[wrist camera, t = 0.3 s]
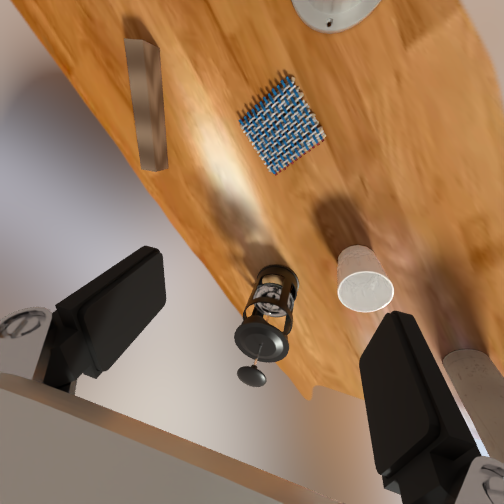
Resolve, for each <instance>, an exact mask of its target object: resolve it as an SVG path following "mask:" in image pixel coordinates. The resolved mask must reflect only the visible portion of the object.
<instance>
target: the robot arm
mask: <svg viewBox="0 0 504 504" xmlns="http://www.w3.org/2000/svg"><path fill="white" fill-rule="evenodd" d="M380 2H381V0H292V4H293V7H294V9H295V10H296V12H297V14H298V16H299V17H300V19H301V20H302V21H303V22H304V23H305V24H306V25H307V26H309V27H310V28H311V29H313V30H315V31H318V32H320V33H328V34H331V33H339V32H342V31H345V30H348V29H350V28H352V27H354V26H355V25H357V24H359V23H360V22H361V21H362V20H364V19H365V18H366V17H367V16H368V15H370V13H371V12H372V11H373V10H374V9H375V8H376V7H377V6H378V4H379V3H380ZM328 23H331V26H330V27H327V24H328ZM165 303H166V290H165V278H164V268H163V256H162V254H161V253H160V251H159V250H158V249H157V248H153V247H149V246H143V247H141V248H140V249H138V250H137V251H135V252H134V253H132V254H131V255H130V256H128V257H126V258H125V259H123V260H122V261H120V262H119V263H117V264H116V265H114V266H113V267H111V268H110V269H109V270H107V271H106V272H104V273H103V274H101V275H100V276H98V277H97V278H95V279H94V280H92V281H91V282H89V283H88V284H86V285H85V286H83V287H82V288H80V289H79V290H77V291H76V292H74V293H73V294H71V295H70V296H68V297H67V298H65V299H64V300H62V301H61V302H60V303H58V304H56V305H55V306H56V309H57V310H56V311H55V312H53V313H52V312H51V311H50V310H49V309H46V308H43V307H31V308H26V309H22V310H19V311H16V312H13V313H11V314H9V315H7V316H5V317H4V318H2V319H1V320H0V504H344V503H342V502H339V501H336V500H334V499H332V498H329V497H327V496H325V495H322V494H319V493H317V492H315V491H312V490H310V489H307V488H305V487H302V486H300V485H297V484H295V483H293V482H290V481H288V480H285V479H283V478H280V477H278V476H275V475H273V474H270V473H268V472H266V471H263V470H261V469H258V468H256V467H253V466H251V465H248V464H246V463H243V462H241V461H238V460H236V459H233V458H231V457H228V456H226V455H223V454H221V453H218V452H216V451H213V450H211V449H208V448H206V447H203V446H201V445H198V444H196V443H193V442H191V441H188V440H186V439H183V438H181V437H178V436H176V435H173V434H171V433H168V432H166V431H163V430H161V429H158V428H156V427H153V426H151V425H148V424H146V423H143V422H141V421H138V420H136V419H133V418H131V417H128V416H126V415H123V414H120V413H118V412H115V411H113V410H110V409H108V408H105V407H103V406H100V405H98V404H95V403H93V402H90V401H88V400H85V399H82V398H80V397H77V396H75V390H76V384H77V378H78V377H79V376H80V375H81V374H82V373H84V374H85V375H87V376H90V377H92V378H95V379H97V377H98V376H99V375H100V374H101V373H102V372H103V371H107V370H108V369H109V368H110V367H111V366H112V365H113V364H114V363H115V362H116V360H117V359H118V358H119V357H120V356H121V355H122V354H123V352H124V351H125V350H126V349H127V348H128V347H129V346H130V344H131V343H132V342H133V341H134V340H135V339H136V338H137V336H138V335H139V334H140V333H141V332H142V331H143V330H144V328H145V327H146V326H147V325H148V324H149V323H150V322H151V320H152V319H153V318H154V317H155V316H156V315H157V313H158V312H159V311H160V310H161V309H162V308H163V307H164V305H165ZM359 368H360V374H361V380H362V386H363V392H364V398H365V404H366V411H367V416H368V423H369V429H370V435H371V441H372V448H373V453H374V460H375V465H376V469H377V472H378V473H379V474H380V475H382V479H383V485H384V489H387V490H390V491H392V492H395V493H397V494H400V495H401V498H402V503H403V504H504V464H503V463H501V462H499V461H498V460H496V459H494V458H490V457H486V456H481V454H480V452H479V450H478V447H477V444H476V442H475V440H474V438H473V436H472V434H471V432H470V430H469V428H468V426H467V424H466V422H465V420H464V418H463V416H462V414H461V412H460V410H459V408H458V406H457V404H456V402H455V400H454V398H453V396H452V394H451V391H450V389H449V387H448V385H447V383H446V381H445V379H444V377H443V375H442V373H441V371H440V369H439V367H438V365H437V363H436V361H435V359H434V357H433V355H432V353H431V351H430V349H429V347H428V345H427V343H426V341H425V339H424V337H423V335H422V333H421V330H420V328H419V326H418V324H417V322H416V320H415V318H414V317H413V316H412V315H410V314H406V313H403V312H399V311H393V312H392V313H387V314H386V315H385V316H384V318H383V320H382V321H381V323H380V325H379V327H378V328H377V330H376V332H375V333H374V335H373V337H372V339H371V340H370V342H369V344H368V345H367V347H366V349H365V351H364V352H363V354H362V356H361V358H360V362H359Z"/></svg>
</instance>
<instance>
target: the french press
mask: <svg viewBox="0 0 504 504" xmlns="http://www.w3.org/2000/svg"><path fill="white" fill-rule="evenodd" d="M272 274H273V275H279V276H282V277H284V281H283V285H279V284H276V283H265V284H263V283H262V279H263V277H264V276H266V275H272ZM291 283H292V284H293V288H292V290H291V291H290V288H291ZM298 288H299V281H298V278H297V276H296V274H295V273H294V272H293V271H292V270H291V269H289V268H287V267H285V266H282V265H269V266H266V267H264V268H263V269H262V270H261V271H260V272H259V274H258V276H257V281H256V283H255V286H254V288H253V291H252V293H251V296H250V298H249V300H248V303H247V305H246V308H245V310H244V312H243V322H242V324H241V325H240V326H239V327H238V328H237V329H236V332H235V336H234V339H235V343H236V345H237V346H238V348H239V349H240V350H241V351H242V352H243V353H244V354H245V355H247V356H248V357H250V358H252V359H254V360H255V362H254V365H252V366H251V367H249V366H245V367H241V368H239V369H238V371H237V375H238V377H239V379H240V380H241V381H242V382H243V383H245V384H247V385H249V386H253V387H260V386H263V385H264V384H265V383H266V377H265V375H264V374H263V373H262V372H261V371H259V370H258V369H257V366H256V363H257V361H261V362H277V361H280V360H282V359H283V358H284V357H286V355H287V354H288V351H289V343H288V340H287V339H288V337H287V335H288V334H289V333H290V331H291V329H292V324H293V316H292V312H293V306H294V301H295V299H296V296H297V291H298ZM252 304H254V306H255V307H254V310H253V312H252V315H251V316H250V317H247V316H246V309H247V308H248V307H249V306H250V305H252ZM264 314H265V315H267V319H266V320H264V319H263V315H264ZM285 315H286V321H285V326H284V332H281V331H280V330H279V329H277V328H276V327H274V326H272V325H270V324H269V323H268V319H269V316H271V317H282V316H285Z"/></svg>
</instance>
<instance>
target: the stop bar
mask: <svg viewBox="0 0 504 504" xmlns="http://www.w3.org/2000/svg"><path fill="white" fill-rule="evenodd" d="M124 42H125V50H126V57H127V65H128V73H129V80H130V88H131V95H132V103H133V110H134V118H135V126H136V133H137V141H138V148H139V156H140V163H141V169H143V170H149V171H154V172H157V171H161V170H164V169H168V157H167V143H166V130H165V116H164V103H163V89H162V76H161V63H160V49H159V48H158V47H156V46H154V45H152V44H150V43H148V42H146V41H144V40H138V39H124Z"/></svg>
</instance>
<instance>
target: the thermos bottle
mask: <svg viewBox="0 0 504 504" xmlns="http://www.w3.org/2000/svg"><path fill="white" fill-rule="evenodd" d="M443 366H444V368H445V370H446V372H447V374H448V376H449V378H450V380H451V381H452V383H453V385H454V387H455V389H456V391H457V393H458V395H459V397H460V399H461V401H462V403H463V405H464V407H465V409H466V411H467V412H468V414H469V416H470V418H471V419H472V421H473V423H474V426H475V428H476V430H477V432H478V434H479V436H480V438H481V440H482V442H483V444H484V446H485V448H486V450H487V452H488V454H489V456H490V458H494V459H496V460H498V461H499V462H501V463H503V464H504V377H503V376H502V375H501V373H500V372H499V371H498V369H497V368H496V366H495V365H494V364H493V362H492V361H491V360H490V358H489V357H488V356H487V355H486V354H484V353H483V352H480V351H477V350H472V349H462V350H457V351H453V352H451V353H449V354H448V355H446V356H445V358H444V359H443Z"/></svg>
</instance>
